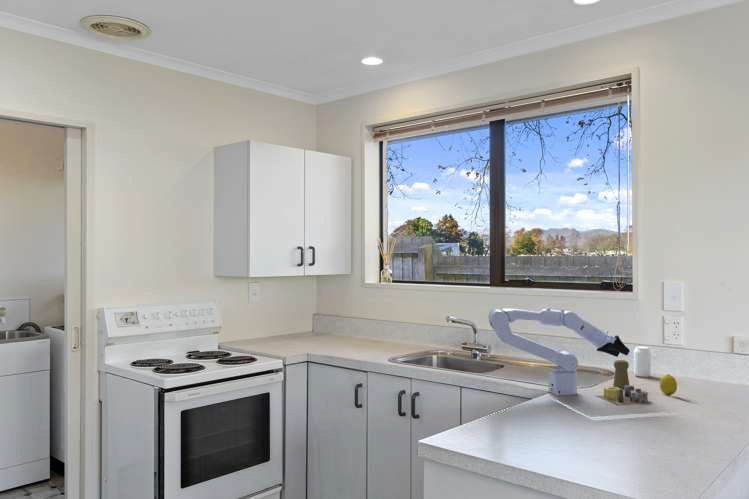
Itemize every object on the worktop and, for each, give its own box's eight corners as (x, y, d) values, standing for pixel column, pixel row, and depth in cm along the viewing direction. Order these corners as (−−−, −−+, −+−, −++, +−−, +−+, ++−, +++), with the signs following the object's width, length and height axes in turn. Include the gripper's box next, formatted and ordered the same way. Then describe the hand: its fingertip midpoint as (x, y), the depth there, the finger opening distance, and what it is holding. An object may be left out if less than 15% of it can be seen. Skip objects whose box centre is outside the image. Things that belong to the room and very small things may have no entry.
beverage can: (633, 374, 251) (633, 345, 251) (649, 375, 249) (649, 346, 249) (635, 377, 245) (634, 348, 245) (651, 378, 243) (651, 348, 243)
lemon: (673, 394, 216) (673, 372, 216) (679, 398, 210) (679, 375, 210) (657, 394, 216) (657, 372, 216) (663, 398, 211) (663, 375, 211)
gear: (609, 399, 206) (609, 390, 206) (600, 395, 211) (600, 387, 211) (624, 398, 207) (624, 389, 207) (614, 394, 212) (614, 386, 212)
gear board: (616, 408, 198) (616, 393, 198) (595, 398, 211) (595, 384, 211) (653, 405, 201) (653, 390, 201) (629, 396, 214) (629, 382, 214)
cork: (632, 391, 221) (632, 361, 221) (616, 391, 221) (616, 361, 221) (626, 387, 227) (626, 358, 227) (610, 387, 227) (610, 358, 227)
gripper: (604, 321, 210) (638, 342, 209) (587, 325, 224) (618, 345, 223) (595, 338, 208) (629, 359, 207) (578, 341, 222) (610, 361, 221)
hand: (623, 353), depth 215 cm, fingers open, 7 cm apart
